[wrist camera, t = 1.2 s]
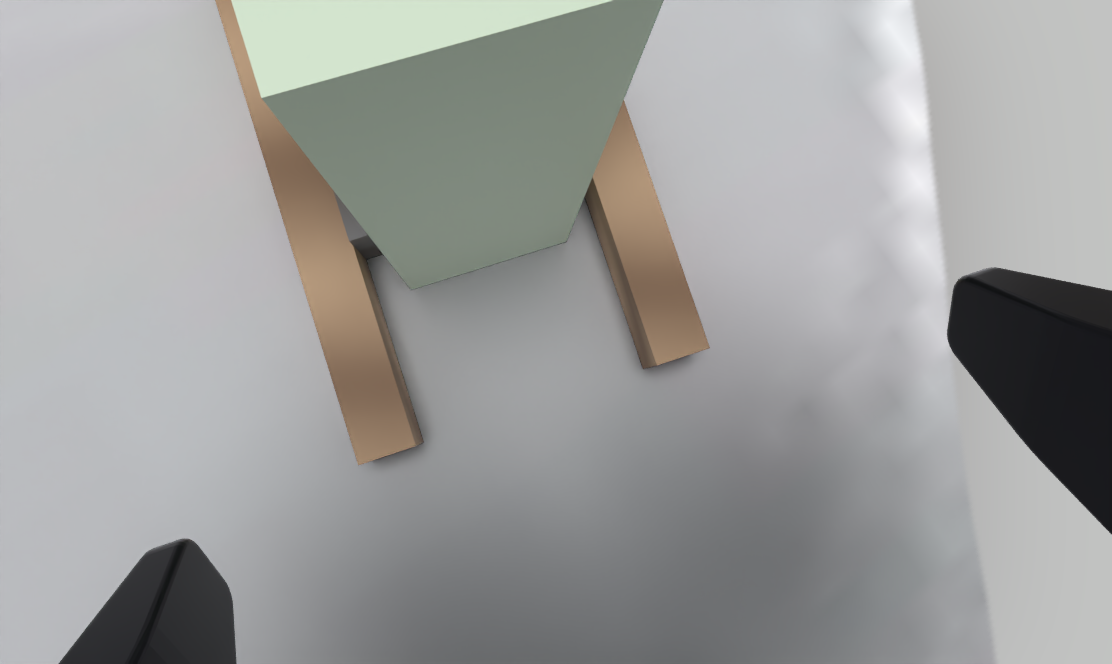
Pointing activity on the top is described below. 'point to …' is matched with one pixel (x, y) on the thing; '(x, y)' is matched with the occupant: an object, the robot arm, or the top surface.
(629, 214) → the wooden leg stand
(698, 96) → the top surface
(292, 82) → the sage block
